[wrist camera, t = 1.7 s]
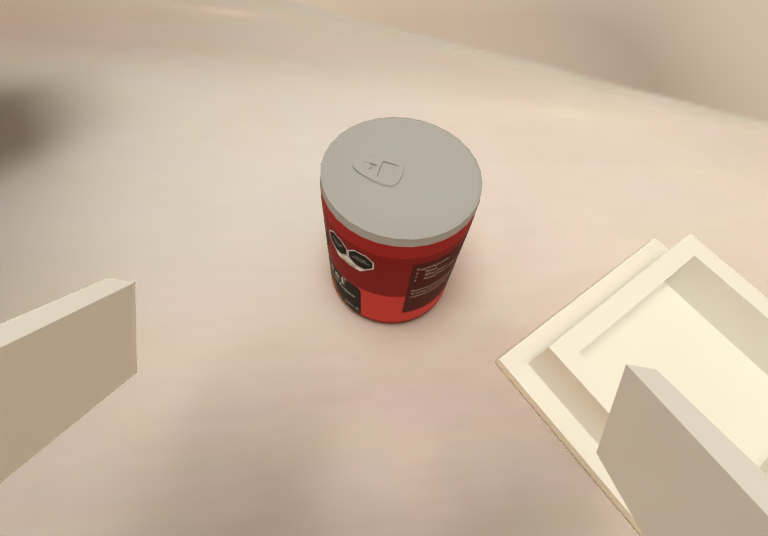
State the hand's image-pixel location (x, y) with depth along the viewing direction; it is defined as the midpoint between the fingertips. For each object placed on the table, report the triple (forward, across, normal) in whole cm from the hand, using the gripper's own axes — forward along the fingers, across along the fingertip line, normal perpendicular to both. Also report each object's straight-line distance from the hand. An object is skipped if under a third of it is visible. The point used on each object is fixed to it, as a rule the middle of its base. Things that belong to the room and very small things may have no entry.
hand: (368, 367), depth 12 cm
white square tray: (+16, +19, -7) cm, 25 cm away
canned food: (+19, 0, -3) cm, 19 cm away
